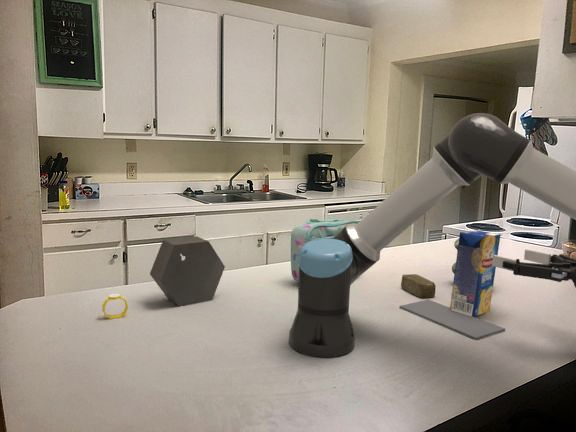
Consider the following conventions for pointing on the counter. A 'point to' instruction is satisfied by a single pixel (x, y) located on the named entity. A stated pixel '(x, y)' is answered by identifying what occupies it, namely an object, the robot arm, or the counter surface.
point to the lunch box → (312, 237)
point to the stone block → (418, 286)
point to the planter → (187, 270)
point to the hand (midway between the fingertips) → (509, 257)
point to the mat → (453, 319)
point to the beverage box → (474, 272)
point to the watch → (114, 297)
